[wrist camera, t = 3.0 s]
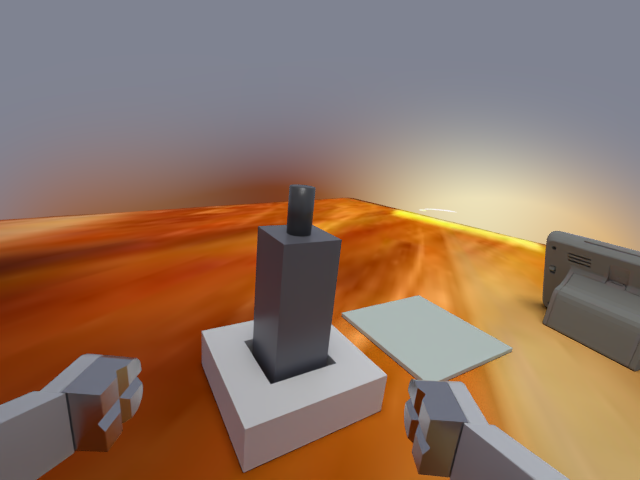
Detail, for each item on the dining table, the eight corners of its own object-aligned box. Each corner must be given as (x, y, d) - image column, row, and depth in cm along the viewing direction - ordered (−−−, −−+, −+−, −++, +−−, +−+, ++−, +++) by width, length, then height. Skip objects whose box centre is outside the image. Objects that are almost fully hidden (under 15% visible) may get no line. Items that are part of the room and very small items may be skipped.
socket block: (243, 472, 18) (245, 429, 17) (201, 364, 26) (201, 331, 25) (380, 410, 23) (387, 375, 22) (310, 336, 31) (313, 307, 30)
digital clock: (729, 388, 30) (787, 281, 27) (657, 397, 28) (712, 282, 25) (565, 303, 45) (591, 228, 42) (511, 305, 43) (534, 226, 40)
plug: (272, 414, 22) (287, 191, 18) (251, 377, 25) (260, 180, 21) (322, 395, 24) (347, 192, 20) (297, 363, 27) (314, 182, 23)
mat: (428, 389, 26) (429, 384, 26) (341, 316, 35) (341, 312, 35) (511, 351, 32) (512, 348, 32) (418, 298, 42) (418, 295, 42)
